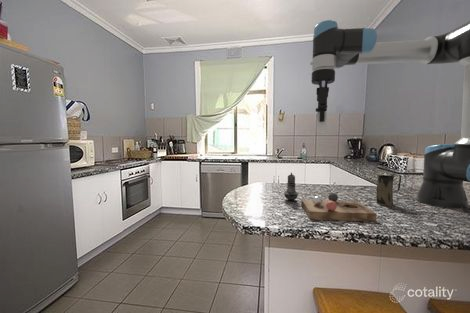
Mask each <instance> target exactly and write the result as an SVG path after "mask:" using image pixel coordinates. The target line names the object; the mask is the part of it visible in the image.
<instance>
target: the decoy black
mask: <svg viewBox="0 0 470 313" xmlns="http://www.w3.org/2000/svg"><path fill="white" fill-rule="evenodd" d="M328 200H330V201H334V202H335V201H338V200H339V196H338V194H336V193H335V192H330V193H329V194H328Z"/></svg>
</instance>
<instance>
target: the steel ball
mask: <svg viewBox="0 0 470 313" xmlns="http://www.w3.org/2000/svg"><path fill="white" fill-rule="evenodd" d="M311 200H312V202H313V204H314V205H317V206H319V205H321V204H322V200H323V198H322V197H321V196H318V195H315V196H313V198H312V199H311Z"/></svg>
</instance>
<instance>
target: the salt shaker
mask: <svg viewBox="0 0 470 313" xmlns="http://www.w3.org/2000/svg"><path fill="white" fill-rule="evenodd" d="M296 184H297V183H296V176H295V175H294V174H293V173H292V172H290V174H288V176H287V183H286V185H287V189H286V191H284V192H283V194H284V198H286V199H285V200H283V201H284V203H286V204H298V202H299V201H298V200H296V199H297V198H298V196H299V192H297V191H296Z"/></svg>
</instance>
